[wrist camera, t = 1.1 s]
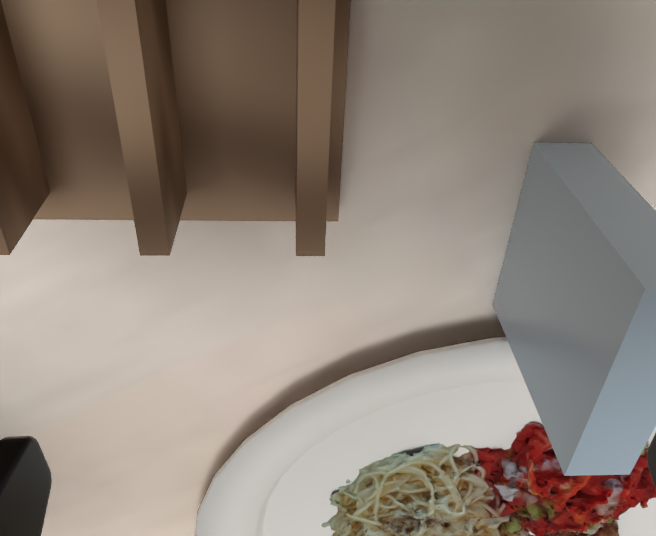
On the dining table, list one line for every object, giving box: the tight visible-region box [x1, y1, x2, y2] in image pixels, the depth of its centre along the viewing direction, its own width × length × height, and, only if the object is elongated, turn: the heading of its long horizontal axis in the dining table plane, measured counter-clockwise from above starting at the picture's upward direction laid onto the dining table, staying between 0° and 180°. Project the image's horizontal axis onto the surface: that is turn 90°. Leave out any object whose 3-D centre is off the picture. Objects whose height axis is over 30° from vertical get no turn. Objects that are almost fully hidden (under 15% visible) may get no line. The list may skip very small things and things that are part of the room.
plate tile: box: [492, 142, 656, 476], centre depth 19 cm, size 7×2×8 cm, turn 178°
